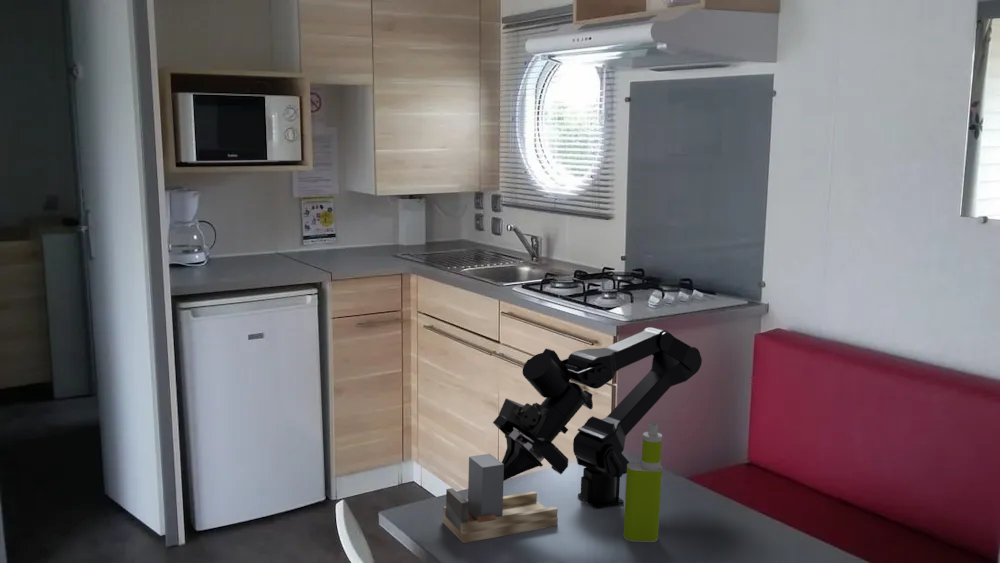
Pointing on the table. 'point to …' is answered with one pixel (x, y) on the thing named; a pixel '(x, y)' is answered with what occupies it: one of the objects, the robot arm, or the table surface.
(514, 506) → the sleeve track
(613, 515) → the table surface
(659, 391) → the robot arm
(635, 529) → the vape
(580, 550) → the table surface
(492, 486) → the grey rectangular box
